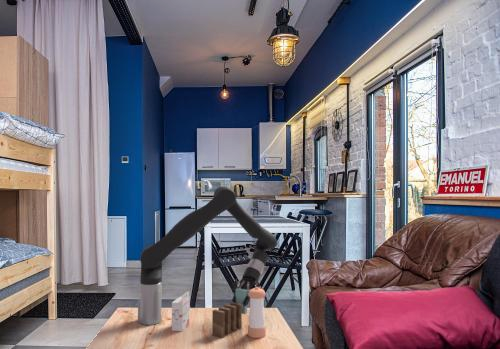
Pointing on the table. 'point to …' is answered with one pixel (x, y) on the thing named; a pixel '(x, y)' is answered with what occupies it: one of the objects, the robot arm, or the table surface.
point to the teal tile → (241, 298)
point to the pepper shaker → (256, 313)
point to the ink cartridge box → (180, 313)
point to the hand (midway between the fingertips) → (238, 304)
